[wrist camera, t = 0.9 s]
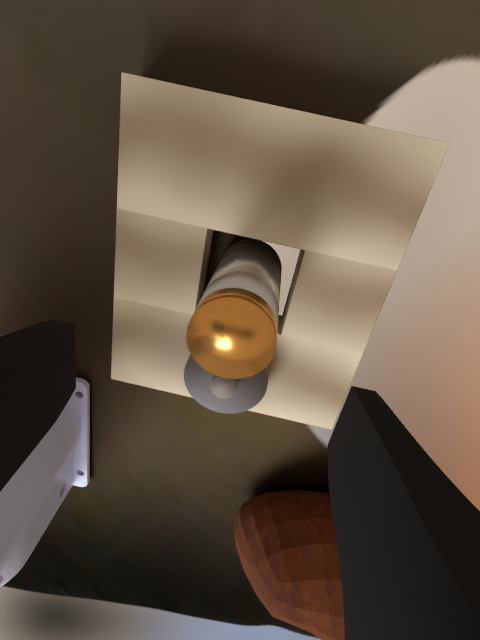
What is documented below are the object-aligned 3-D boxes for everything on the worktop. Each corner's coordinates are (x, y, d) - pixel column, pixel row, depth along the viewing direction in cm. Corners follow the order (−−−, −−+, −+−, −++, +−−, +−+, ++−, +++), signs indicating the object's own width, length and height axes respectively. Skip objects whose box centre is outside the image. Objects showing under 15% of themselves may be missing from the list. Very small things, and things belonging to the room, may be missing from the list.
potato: (231, 458, 25) (207, 590, 18) (418, 460, 23) (473, 608, 16) (243, 533, 28) (227, 668, 21) (407, 540, 27) (449, 690, 20)
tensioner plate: (328, 404, 22) (335, 455, 19) (125, 358, 22) (95, 400, 19) (431, 140, 15) (470, 146, 12) (140, 77, 16) (99, 66, 12)
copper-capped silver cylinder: (273, 302, 19) (265, 387, 13) (216, 289, 20) (181, 367, 13) (288, 246, 18) (286, 311, 12) (226, 232, 18) (192, 290, 12)
